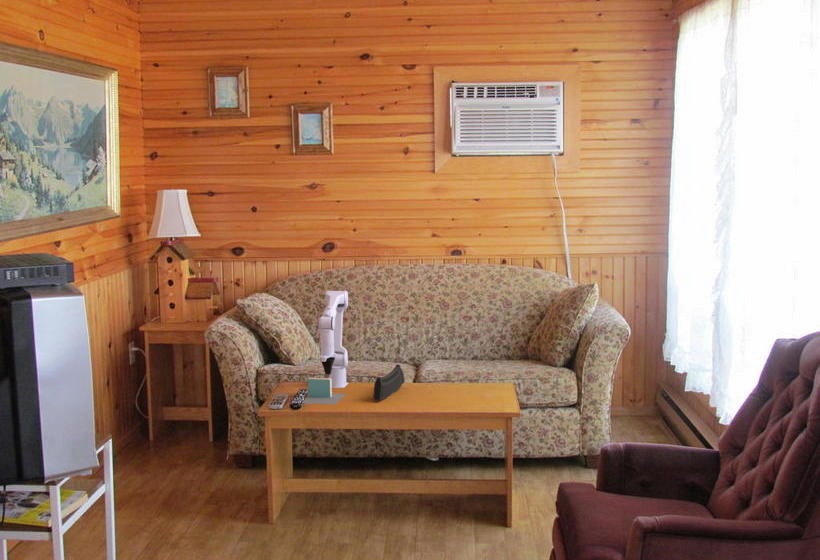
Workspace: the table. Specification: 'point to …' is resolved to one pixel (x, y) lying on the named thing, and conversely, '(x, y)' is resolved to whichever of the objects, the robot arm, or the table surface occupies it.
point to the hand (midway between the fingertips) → (328, 374)
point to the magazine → (388, 384)
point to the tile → (320, 387)
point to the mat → (323, 399)
